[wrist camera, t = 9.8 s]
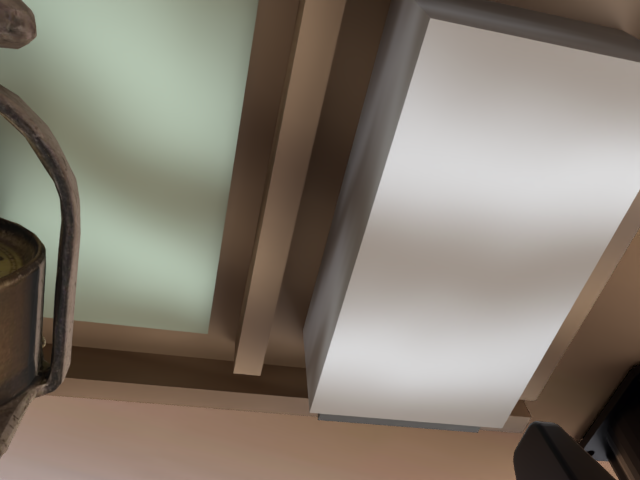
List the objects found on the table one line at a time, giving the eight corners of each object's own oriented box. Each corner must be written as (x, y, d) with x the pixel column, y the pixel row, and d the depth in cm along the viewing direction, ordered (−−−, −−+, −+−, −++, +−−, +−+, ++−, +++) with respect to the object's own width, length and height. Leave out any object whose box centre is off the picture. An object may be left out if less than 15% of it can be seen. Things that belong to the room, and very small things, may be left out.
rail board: (500, 383, 28) (543, 483, 24) (-124, 323, 23) (-212, 435, 19) (762, -102, 17) (929, -79, 13) (-302, -402, 12) (-600, -523, 8)
